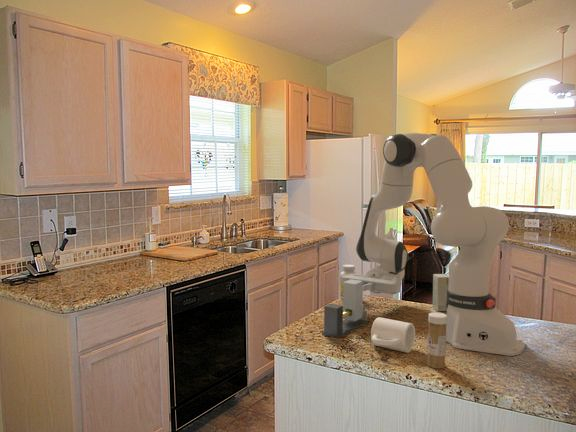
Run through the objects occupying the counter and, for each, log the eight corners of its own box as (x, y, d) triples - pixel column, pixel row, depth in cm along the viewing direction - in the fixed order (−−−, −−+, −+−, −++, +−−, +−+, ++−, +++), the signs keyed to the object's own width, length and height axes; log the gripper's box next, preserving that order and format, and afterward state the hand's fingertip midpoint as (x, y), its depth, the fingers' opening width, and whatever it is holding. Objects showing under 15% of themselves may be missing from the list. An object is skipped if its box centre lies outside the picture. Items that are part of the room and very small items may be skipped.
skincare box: (449, 311, 169) (450, 277, 168) (437, 311, 169) (438, 277, 168) (444, 306, 175) (444, 273, 174) (432, 306, 175) (432, 273, 174)
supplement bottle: (356, 300, 183) (356, 267, 182) (339, 300, 184) (339, 267, 183) (357, 296, 189) (357, 264, 188) (340, 295, 191) (341, 263, 189)
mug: (382, 340, 141) (382, 314, 140) (415, 347, 135) (415, 320, 135) (363, 353, 131) (364, 325, 131) (398, 361, 126) (398, 332, 125)
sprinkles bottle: (423, 363, 124) (424, 312, 123) (437, 360, 126) (439, 310, 124) (435, 370, 120) (436, 318, 118) (449, 367, 122) (451, 315, 120)
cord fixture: (367, 321, 158) (368, 294, 157) (339, 338, 142) (339, 309, 142) (351, 318, 161) (351, 292, 161) (321, 334, 146) (322, 305, 145)
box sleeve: (362, 317, 156) (362, 281, 155) (355, 321, 152) (355, 284, 151) (350, 314, 159) (350, 279, 158) (342, 318, 155) (343, 282, 153)
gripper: (351, 268, 175) (332, 274, 164) (405, 274, 163) (388, 282, 152) (351, 284, 176) (332, 292, 165) (404, 293, 164) (388, 302, 153)
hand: (359, 288), depth 158 cm, fingers closed
